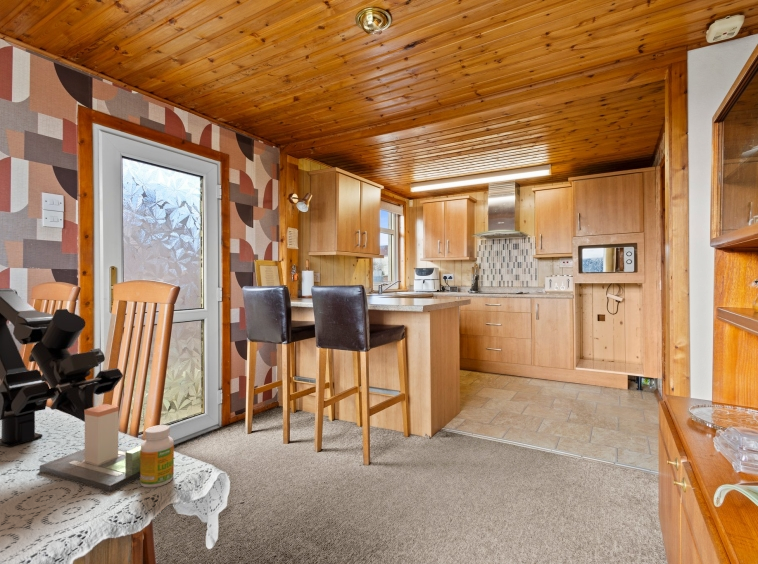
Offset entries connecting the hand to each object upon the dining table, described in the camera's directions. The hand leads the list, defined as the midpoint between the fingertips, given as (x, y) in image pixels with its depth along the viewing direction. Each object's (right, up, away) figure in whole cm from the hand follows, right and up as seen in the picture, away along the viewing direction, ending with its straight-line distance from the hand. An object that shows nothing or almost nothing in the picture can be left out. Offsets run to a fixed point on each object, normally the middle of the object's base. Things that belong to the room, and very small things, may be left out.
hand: (90, 421), depth 81 cm
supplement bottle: (+18, -9, -7) cm, 21 cm away
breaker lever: (+3, -7, -1) cm, 8 cm away
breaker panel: (+4, -8, -3) cm, 10 cm away
